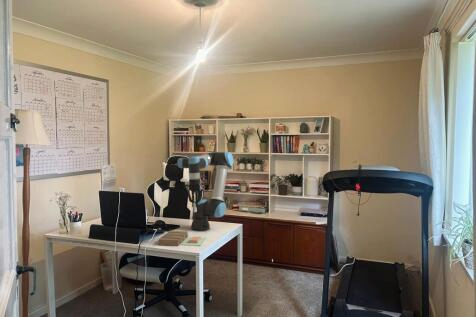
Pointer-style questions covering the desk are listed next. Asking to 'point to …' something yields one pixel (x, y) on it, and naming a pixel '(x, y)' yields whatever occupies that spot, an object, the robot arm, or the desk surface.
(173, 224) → the desk surface
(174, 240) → the deck
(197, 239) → the card
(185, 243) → the mat
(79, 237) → the desk surface
